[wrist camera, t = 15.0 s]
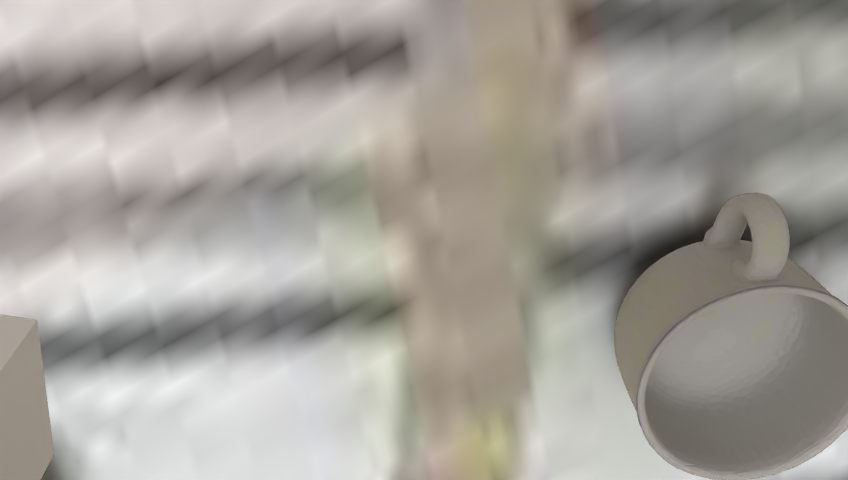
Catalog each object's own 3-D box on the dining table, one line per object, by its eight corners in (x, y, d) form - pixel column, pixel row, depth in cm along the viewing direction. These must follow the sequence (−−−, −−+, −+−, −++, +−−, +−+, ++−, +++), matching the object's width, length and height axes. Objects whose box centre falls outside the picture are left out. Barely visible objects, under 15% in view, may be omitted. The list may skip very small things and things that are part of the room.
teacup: (752, 395, 46) (830, 490, 39) (572, 386, 45) (619, 484, 37) (831, 166, 41) (940, 228, 34) (629, 147, 39) (697, 208, 32)
